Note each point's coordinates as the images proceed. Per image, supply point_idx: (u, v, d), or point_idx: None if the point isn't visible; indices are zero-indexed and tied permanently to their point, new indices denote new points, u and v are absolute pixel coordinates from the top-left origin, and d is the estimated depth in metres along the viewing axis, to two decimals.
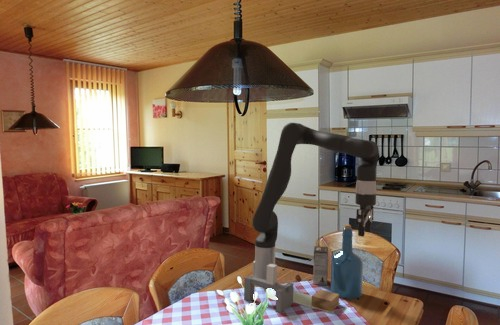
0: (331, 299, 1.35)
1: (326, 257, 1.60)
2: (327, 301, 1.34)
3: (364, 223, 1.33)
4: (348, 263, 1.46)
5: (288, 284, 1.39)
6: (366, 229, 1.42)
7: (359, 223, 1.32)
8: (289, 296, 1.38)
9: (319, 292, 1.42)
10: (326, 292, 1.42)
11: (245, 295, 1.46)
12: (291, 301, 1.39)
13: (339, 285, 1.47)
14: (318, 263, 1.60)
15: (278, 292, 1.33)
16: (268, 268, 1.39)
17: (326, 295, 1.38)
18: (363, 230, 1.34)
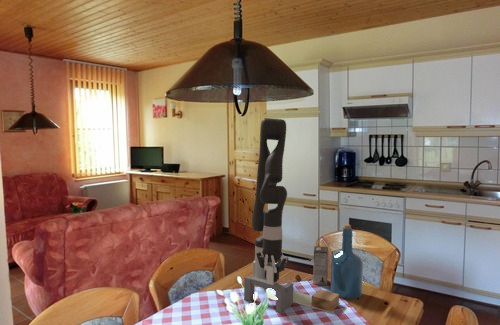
0: (331, 299, 1.35)
1: (326, 257, 1.60)
2: (327, 301, 1.34)
3: (279, 268, 1.39)
4: (348, 263, 1.46)
5: (288, 284, 1.39)
6: None
7: (282, 269, 1.37)
8: (289, 296, 1.38)
9: (319, 292, 1.42)
10: (326, 292, 1.42)
11: (245, 295, 1.46)
12: (291, 301, 1.39)
13: (339, 285, 1.47)
14: (318, 263, 1.60)
15: (278, 292, 1.33)
16: (268, 268, 1.39)
17: (326, 295, 1.38)
18: None
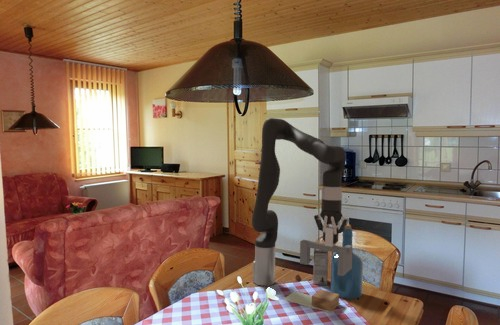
0: (331, 299, 1.35)
1: (326, 257, 1.60)
2: (327, 301, 1.34)
3: None
4: None
5: (347, 246, 1.36)
6: None
7: None
8: (349, 258, 1.35)
9: (319, 292, 1.42)
10: (326, 292, 1.42)
11: (301, 259, 1.43)
12: (350, 263, 1.37)
13: (339, 285, 1.47)
14: (318, 263, 1.60)
15: (340, 252, 1.30)
16: (327, 230, 1.36)
17: (326, 295, 1.38)
18: None
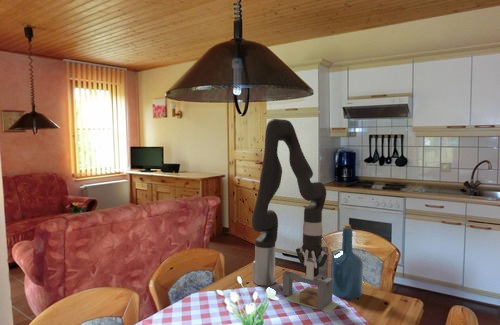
0: None
1: None
2: (314, 298, 1.37)
3: (318, 263, 1.42)
4: (348, 263, 1.46)
5: (328, 279, 1.41)
6: None
7: None
8: (329, 291, 1.40)
9: (307, 289, 1.45)
10: (314, 289, 1.45)
11: (284, 290, 1.48)
12: (330, 296, 1.42)
13: (339, 285, 1.47)
14: None
15: (320, 287, 1.35)
16: (308, 263, 1.41)
17: (314, 292, 1.41)
18: None
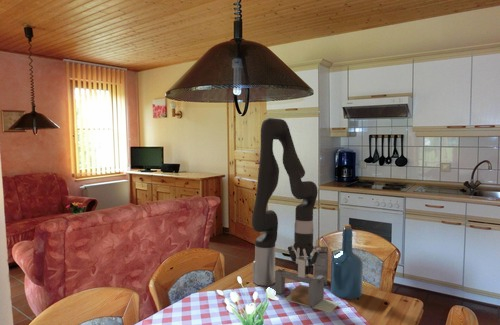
0: None
1: (326, 257, 1.60)
2: (305, 295, 1.39)
3: None
4: (348, 263, 1.46)
5: (319, 277, 1.43)
6: None
7: None
8: (320, 288, 1.42)
9: (299, 287, 1.46)
10: (306, 287, 1.47)
11: (276, 288, 1.50)
12: (322, 293, 1.44)
13: (339, 285, 1.47)
14: (318, 263, 1.60)
15: (311, 284, 1.37)
16: (299, 261, 1.43)
17: (305, 290, 1.43)
18: None
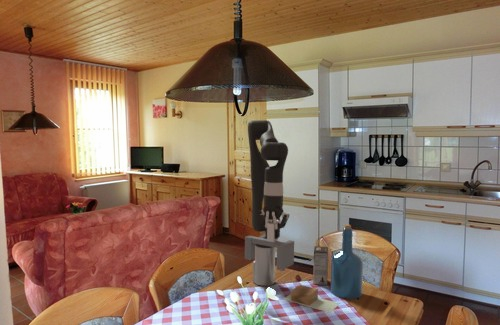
0: (309, 294, 1.40)
1: (326, 257, 1.60)
2: (305, 295, 1.39)
3: None
4: (348, 263, 1.46)
5: (289, 241, 1.38)
6: None
7: (282, 226, 1.37)
8: (290, 253, 1.37)
9: (299, 287, 1.46)
10: (306, 287, 1.47)
11: (245, 254, 1.45)
12: (292, 259, 1.39)
13: (339, 285, 1.47)
14: (318, 263, 1.60)
15: (279, 247, 1.32)
16: (269, 225, 1.38)
17: (305, 290, 1.43)
18: None
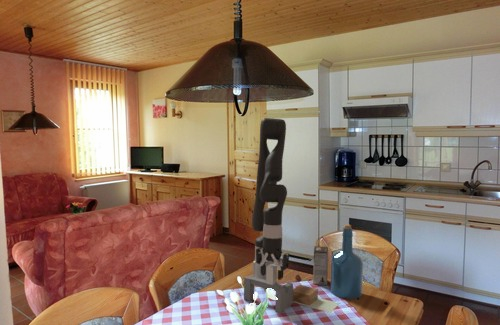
0: (309, 294, 1.40)
1: (326, 257, 1.60)
2: (305, 295, 1.39)
3: (283, 265, 1.38)
4: (348, 263, 1.46)
5: (288, 284, 1.39)
6: (263, 273, 1.42)
7: (286, 267, 1.36)
8: (289, 296, 1.38)
9: (299, 287, 1.46)
10: (306, 287, 1.47)
11: (245, 295, 1.45)
12: (291, 301, 1.39)
13: (339, 285, 1.47)
14: (318, 263, 1.60)
15: (278, 292, 1.33)
16: (268, 268, 1.39)
17: (305, 290, 1.43)
18: None
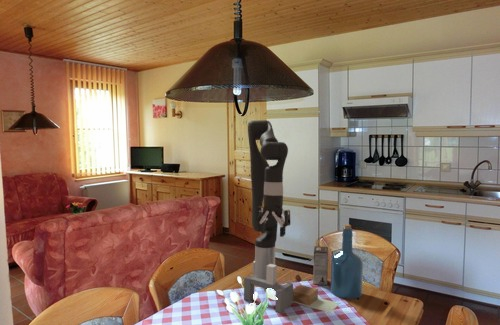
0: (309, 294, 1.40)
1: (326, 257, 1.60)
2: (305, 295, 1.39)
3: (285, 223, 1.38)
4: (348, 263, 1.46)
5: (288, 284, 1.39)
6: (263, 231, 1.41)
7: (288, 223, 1.35)
8: (289, 296, 1.38)
9: (299, 287, 1.46)
10: (306, 287, 1.47)
11: (245, 295, 1.45)
12: (291, 301, 1.39)
13: (339, 285, 1.47)
14: (318, 263, 1.60)
15: (278, 292, 1.33)
16: (268, 268, 1.39)
17: (305, 290, 1.43)
18: None
